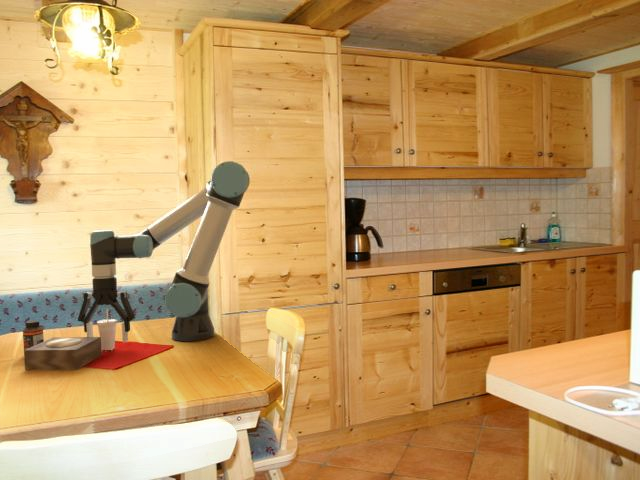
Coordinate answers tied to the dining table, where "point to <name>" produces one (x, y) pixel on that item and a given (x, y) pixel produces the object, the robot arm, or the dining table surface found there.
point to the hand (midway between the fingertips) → (107, 341)
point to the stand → (62, 353)
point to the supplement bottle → (32, 334)
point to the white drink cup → (107, 332)
